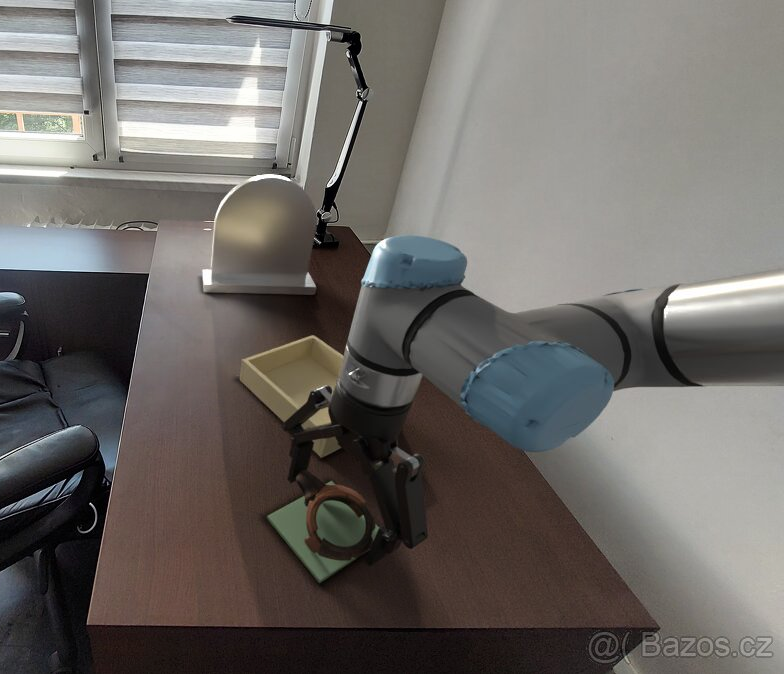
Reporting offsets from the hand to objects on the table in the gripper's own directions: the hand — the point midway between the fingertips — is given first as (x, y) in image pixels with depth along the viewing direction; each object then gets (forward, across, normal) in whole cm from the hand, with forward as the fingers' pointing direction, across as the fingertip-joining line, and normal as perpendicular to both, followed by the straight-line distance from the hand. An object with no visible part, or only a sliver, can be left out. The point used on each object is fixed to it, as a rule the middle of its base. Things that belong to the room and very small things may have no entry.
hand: (332, 515), depth 59 cm
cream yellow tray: (+3, -20, +17) cm, 27 cm away
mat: (+3, 0, 0) cm, 3 cm away
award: (+3, -60, +35) cm, 70 cm away
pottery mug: (+3, 0, 0) cm, 3 cm away
